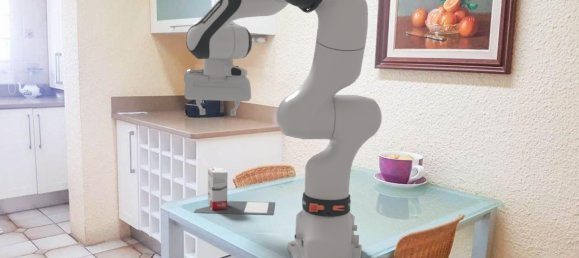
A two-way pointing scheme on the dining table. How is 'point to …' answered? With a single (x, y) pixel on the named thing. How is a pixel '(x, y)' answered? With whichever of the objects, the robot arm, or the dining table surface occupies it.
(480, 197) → the dining table surface
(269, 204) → the mat
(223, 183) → the ink box
